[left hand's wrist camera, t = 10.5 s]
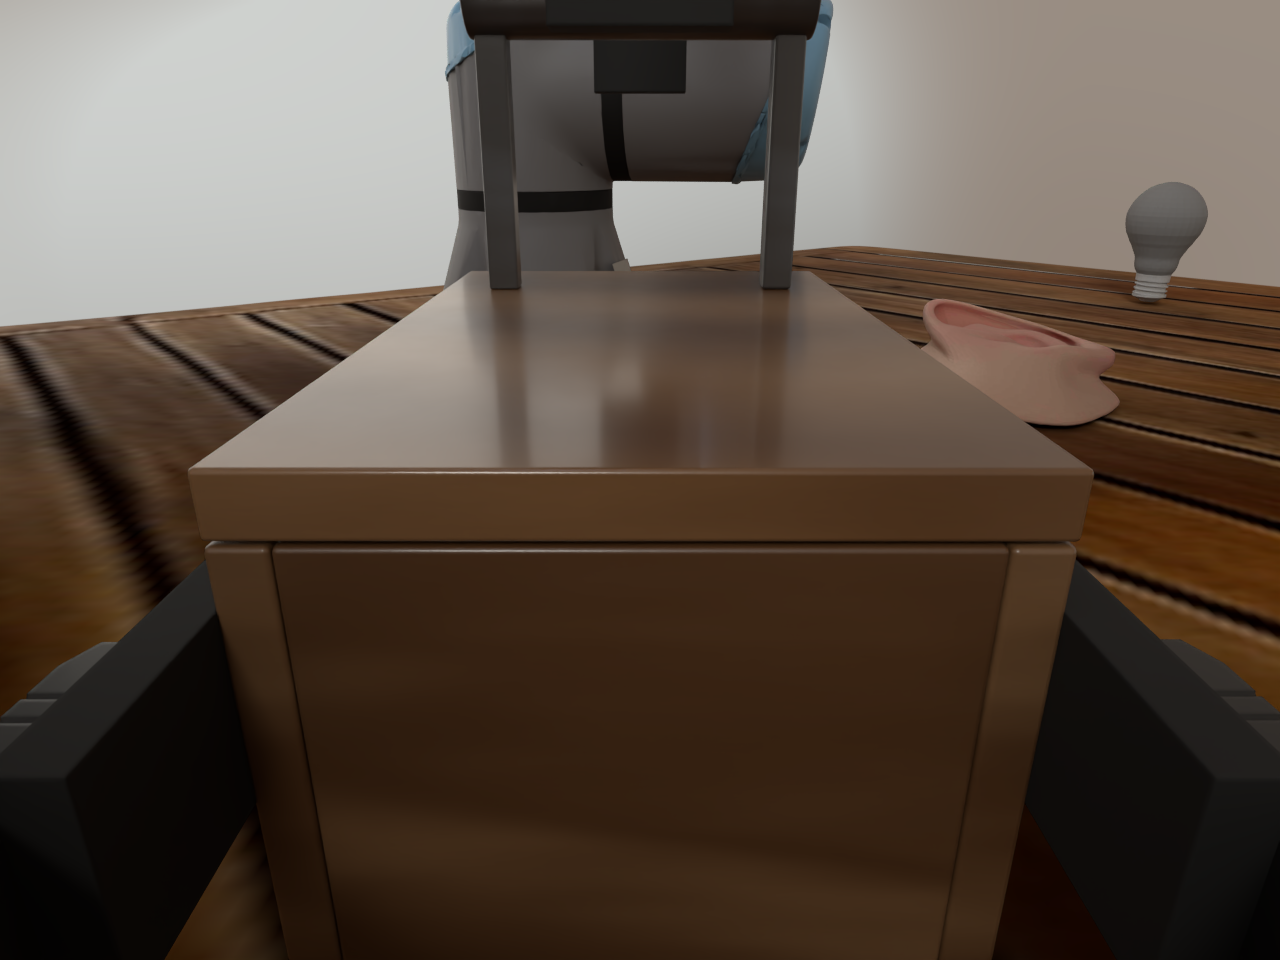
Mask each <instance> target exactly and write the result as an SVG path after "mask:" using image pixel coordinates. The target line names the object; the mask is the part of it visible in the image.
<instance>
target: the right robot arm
mask: <svg viewBox="0 0 1280 960" xmlns="http://www.w3.org/2000/svg"><path fill="white" fill-rule="evenodd" d="M545 4H546V26H547V27H548V29H549V30H550V32H551V33H729V31H730V30H731V28H732V27H733V23H734V0H545ZM832 16H833V4H832V2H831V1H830V0H821V7H820V13H819V18H818V22H817V26H816V29H815V32H814V34H813V36H812V38H811V39H810V40H807V41H806V57H805V73H804V88H803V104H802V120H801V135H800V151H799V166H800V165H801V163H802V161H803V159H804V156H805V153H806V150H807V146H808V142H809V138H810V134H811V130H812V126H813V122H814V117H815V113H816V108H817V103H818V98H819V94H820V88H821V84H822V78H823V73H824V68H825V62H826V56H827V51H828V45H829V38H830V28H831V19H832ZM447 54H448V66H447V67H446V71H445V74H446V80H447V81H448V86H449V98H450V110H451V122H452V135H453V147H454V160H455V172H456V184H457V195H458V208H459V225H458V230H457V234H456V238H455V243H454V247H453V251H452V255H451V260H450V264H449V268H448V273H447V277H446V281H445V285H444V290H445V289H446V288H448V287H449V286H451V285H452V284H453V283H455V282H456V281H458V280H459V279H461V278H462V277H463V276H465V275H466V274H468V273H469V272H471V271H489V267H488V251H487V235H486V220H485V204H484V188H483V172H482V156H481V140H480V124H479V108H478V92H477V77H476V61H475V45H474V40H472V39H470V38H469V36H468V34H467V32H466V29H465V26H464V22H463V17H462V12H461V6H460V1H458V2H457V4H455V6H454V7H453V8H452V10H451V12H450V14H449V16H448V20H447ZM510 56H511V76H512V96H513V117H514V137H515V157H516V177H517V198H518V218H519V238H520V258H521V271H631V269H630V266H629V262H628V259H625V258H624V254H623V251H622V248H621V245H620V242H619V238H618V235H617V232H616V229H615V226H614V221H613V208H612V185H613V181H681V182H683V181H684V182H732V184H739V183H740V182H741V181H762V180H764V177H765V157H766V137H767V118H768V98H769V78H770V58H771V40H510ZM798 168H799V167H798Z"/></svg>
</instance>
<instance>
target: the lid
mask: <svg viewBox="0 0 1280 960" xmlns="http://www.w3.org/2000/svg"><path fill="white" fill-rule="evenodd" d="M460 6H461V12H462V17H463V22H464V26H465V29H466V32H467V34H468V36H469V38H470V39H472V40H474V45H475V61H476V77H477V92H478V108H479V124H480V140H481V156H482V172H483V188H484V204H485V220H486V235H487V251H488V267H489V271H471V272H469V273H468V274H466V275H465V276H463V277H462V278H461V279H459V280H458V281H456V282H455V283H453V284H452V285H451V286H449V287H448V288H446V289H445V290H443V291H442V292H441V293H439V294H438V295H436V296H435V297H433V298H432V299H431V300H429V301H428V302H426V303H425V304H424V305H422V306H421V307H419V308H418V309H416V310H415V311H414V312H412V313H411V314H409V315H408V316H406V317H405V318H404V319H402V320H401V321H399V322H398V323H396V324H395V325H394V326H392V327H391V328H389V329H388V330H386V331H385V332H384V333H382V334H381V335H379V336H378V337H376V338H375V339H374V340H372V341H371V342H369V343H368V344H366V345H365V346H364V347H362V348H361V349H359V350H358V351H356V352H355V353H354V354H352V355H351V356H349V357H348V358H346V359H345V360H344V361H342V362H341V363H339V364H338V365H336V366H335V367H334V368H332V369H331V370H329V371H328V372H326V373H325V374H324V375H322V376H321V377H319V378H318V379H317V380H315V381H314V382H312V383H311V384H309V385H308V386H307V387H305V388H304V389H302V390H301V391H299V392H298V393H297V394H295V395H294V396H292V397H291V398H289V399H288V400H287V401H285V402H284V403H282V404H281V405H279V406H278V407H277V408H275V409H274V410H272V411H271V412H269V413H268V414H267V415H265V416H264V417H262V418H261V419H259V420H258V421H257V422H255V423H254V424H252V425H251V426H249V427H248V428H247V429H245V430H244V431H242V432H241V433H239V434H238V435H237V436H235V437H234V438H232V439H231V440H229V441H228V442H227V443H225V444H224V445H222V446H221V447H219V448H218V449H217V450H215V451H214V452H212V453H211V454H209V455H208V456H207V457H205V458H204V459H202V460H201V461H200V462H198V463H197V464H195V465H194V466H192V467H191V468H190V469H189V470H188V480H189V485H190V489H191V494H192V499H193V504H194V509H195V514H196V518H197V523H198V528H199V533H200V537H201V539H202V540H204V541H1078V540H1080V538H1081V535H1082V530H1083V525H1084V520H1085V516H1086V511H1087V506H1088V501H1089V496H1090V492H1091V487H1092V482H1093V477H1094V473H1093V470H1092V469H1091V468H1090V467H1088V466H1087V465H1086V464H1084V463H1083V462H1081V461H1080V460H1078V459H1077V458H1076V457H1074V456H1073V455H1071V454H1070V453H1068V452H1067V451H1066V450H1064V449H1063V448H1061V447H1060V446H1058V445H1057V444H1056V443H1054V442H1053V441H1051V440H1050V439H1048V438H1047V437H1046V436H1044V435H1043V434H1041V433H1040V432H1038V431H1037V430H1036V429H1034V428H1033V427H1031V426H1030V425H1028V424H1027V423H1026V422H1024V421H1023V420H1021V419H1020V418H1018V417H1017V416H1016V415H1014V414H1013V413H1011V412H1010V411H1008V410H1007V409H1006V408H1004V407H1003V406H1001V405H1000V404H998V403H997V402H996V401H994V400H993V399H991V398H990V397H988V396H987V395H986V394H984V393H983V392H981V391H980V390H978V389H977V388H976V387H974V386H973V385H971V384H970V383H968V382H967V381H966V380H964V379H963V378H961V377H960V376H958V375H957V374H956V373H954V372H953V371H951V370H950V369H948V368H947V367H946V366H944V365H943V364H941V363H940V362H938V361H937V360H936V359H934V358H933V357H931V356H930V355H928V354H927V353H926V352H924V351H923V350H921V349H920V348H918V347H917V346H916V345H914V344H913V343H911V342H910V341H908V340H907V339H906V338H904V337H903V336H901V335H900V334H898V333H897V332H896V331H894V330H893V329H891V328H890V327H888V326H887V325H886V324H884V323H883V322H881V321H880V320H878V319H877V318H876V317H874V316H873V315H871V314H870V313H868V312H867V311H866V310H864V309H863V308H861V307H860V306H858V305H857V304H856V303H854V302H853V301H851V300H850V299H848V298H847V297H846V296H844V295H843V294H841V293H840V292H838V291H837V290H836V289H834V288H833V287H831V286H830V285H828V284H827V283H826V282H824V281H823V280H821V279H820V278H818V277H817V276H816V275H814V274H813V273H811V272H809V271H792V260H793V245H794V229H795V213H796V198H797V182H798V167H799V151H800V135H801V120H802V104H803V88H804V73H805V57H806V41H807V40H810V39H811V38H812V36H813V34H814V32H815V29H816V26H817V22H818V18H819V13H820V7H821V0H734V23H733V27H732V28H731V30H730V31H729V33H551V32H550V30H549V29H548V27H547V26H546V4H545V0H460ZM510 40H771V58H770V78H769V98H768V118H767V137H766V157H765V177H764V197H763V217H762V236H761V256H760V271H521V258H520V238H519V218H518V198H517V177H516V157H515V137H514V117H513V96H512V76H511V56H510Z"/></svg>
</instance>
